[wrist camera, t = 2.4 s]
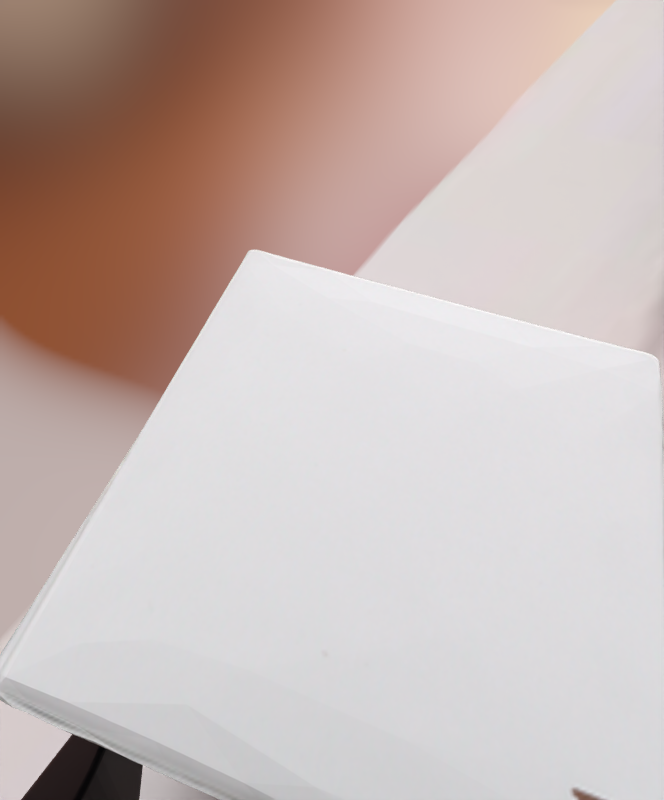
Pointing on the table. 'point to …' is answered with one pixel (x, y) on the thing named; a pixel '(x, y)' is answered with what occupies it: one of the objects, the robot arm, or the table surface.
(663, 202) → the table surface
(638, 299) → the table surface
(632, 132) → the table surface
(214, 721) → the supplement box
